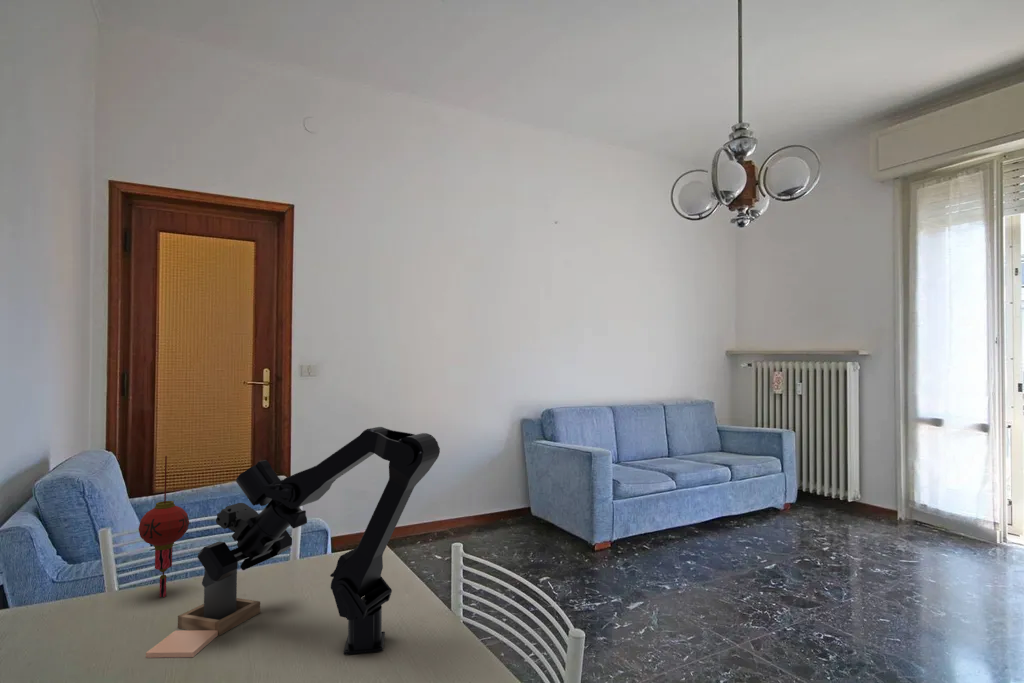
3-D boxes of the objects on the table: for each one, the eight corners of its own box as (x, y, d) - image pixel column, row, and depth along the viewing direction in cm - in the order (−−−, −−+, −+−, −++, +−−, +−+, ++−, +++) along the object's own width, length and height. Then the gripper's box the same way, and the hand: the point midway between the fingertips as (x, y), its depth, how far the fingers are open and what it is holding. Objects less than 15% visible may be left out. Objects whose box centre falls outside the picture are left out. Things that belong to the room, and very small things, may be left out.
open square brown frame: (260, 612, 111) (260, 601, 111) (219, 635, 101) (219, 623, 102) (220, 606, 114) (221, 595, 114) (177, 628, 105) (177, 616, 105)
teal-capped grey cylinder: (230, 625, 105) (231, 561, 106) (198, 628, 105) (200, 563, 105) (239, 612, 111) (241, 551, 112) (209, 615, 110) (211, 553, 111)
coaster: (218, 634, 102) (218, 630, 102) (193, 657, 94) (193, 652, 94) (174, 635, 102) (175, 630, 102) (145, 657, 94) (146, 652, 94)
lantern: (197, 587, 124) (200, 452, 126) (170, 605, 115) (173, 459, 116) (155, 588, 124) (158, 452, 126) (125, 605, 115) (129, 459, 116)
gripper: (281, 481, 116) (238, 530, 119) (207, 502, 98) (158, 558, 101) (312, 523, 113) (267, 572, 116) (241, 552, 95) (190, 609, 98)
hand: (223, 576), depth 108 cm, fingers open, 9 cm apart
